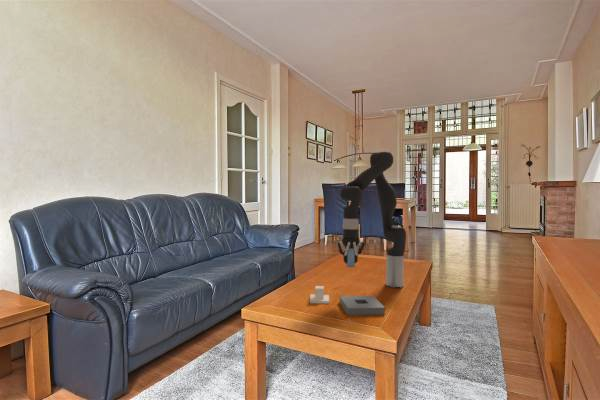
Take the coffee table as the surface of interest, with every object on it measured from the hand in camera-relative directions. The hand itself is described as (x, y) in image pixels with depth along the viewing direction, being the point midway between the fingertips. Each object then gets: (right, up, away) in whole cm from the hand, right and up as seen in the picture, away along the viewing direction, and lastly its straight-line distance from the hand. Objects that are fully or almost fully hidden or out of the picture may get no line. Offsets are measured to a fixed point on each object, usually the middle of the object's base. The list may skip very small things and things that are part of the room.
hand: (350, 262), depth 160 cm
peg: (0, -2, 0) cm, 2 cm away
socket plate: (+3, -18, -12) cm, 22 cm away
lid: (-15, -18, -2) cm, 23 cm away
